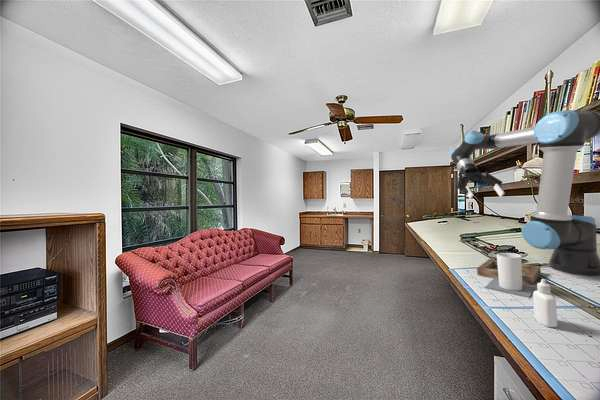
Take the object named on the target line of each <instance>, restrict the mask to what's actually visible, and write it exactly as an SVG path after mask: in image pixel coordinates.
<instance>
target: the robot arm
mask: <svg viewBox="0 0 600 400" xmlns="http://www.w3.org/2000/svg"><path fill="white" fill-rule="evenodd" d="M599 134H600V113H599V112H598V111H594V110H588V109H587V110H583V109H582V110H576V109H575V110H574V109H573V110H572V109H571V110H570V109H566V110H565V109H564V110H558V111H554V112H553V111H552V112H550V113H548V114H546V115H544V116H543V117H542V118H540V119H539V120H538V122H537V123H536V124H535V126H532V127H525V128H521V129H516V130H510V131H506V132H504V131H503V132H502V133H500V132H499V133H495V134H486V135H485V134H484V133H482V132H480V131H477V130H470V132H468V134H467V135H465V137H464V138H463V140H462V142H461V143H460V145H459V146H457V147H454V148H453V149H451V150H450V152H449V156H450V158H451V161H453V163H454V164H455V165H456V168H457V169H458V171H459V173H458V174H457V179H458V180H457V185H456V189H458V190H459V189H460V191H462V192H463V193H464V194H466V195H467V197H468V198H469V200H472V198H473V197H474V193H473V192H472V190H471V189H470V187H469V185H468V184H469V182H474V181H475V182H478V181H479V182H482V183H485V184H487V185H489V186H491V187H493V190H495V192H496V194H497V195H498V196H499V197H500V198H502V197H504V195H505V191H504V190H503V187H502V184H503V181H502V180H501V179H498V178H497V177H495V176H493V175H492V174H490V173H489V172H488V171H484V172H481V171H480V169H479V168H478V166H477V165H476V164H475V163H474V161H473V160H472V158H471V156H472V154H473V153H474V152H475V150H496V149H499V148H509V147H515V146H522V145H530V144H531V145H532V144H537V143H538V144H539V146H538V150H540V151H542V153H543V157H542V164H541V172H540V179H539V180H540V181H539V187H538V195H537V201H536V202H537V203H536V209H535V211H534V212H533V211H532V212H531V213H530V216H529V217H530V218H529V221H527V222H526V223H525V224H523V226H522V228H521V235H522V237H523V240H524V241H526V243H527V244H529V245H530V246H531V247H534V248H535V249H540V250H553V252H552V254H551V257H550V259H549V261H548V263H549V267H550V268H551V269H553V270H556V271H559V272H560V271H561V272H563V273H568V274H569V273H570V274H575V275H585V276H600V256H599V254H598V250H597V249H598V247H597V246H598V245H597V243H598V242H597V224H596V219H595V218H594V217H593V216H590V215H589V216H588V215H572V214H568V213H569V211H568V210H569V205H570V198H571V191H572V186H573V185H572V184H573V178H574V172H575V166H576V165H575V164H576V159H577V154H578V153H577V152H578V151H579V150H581V149H582V148H584V146H585V141H588V140H592V139H594V138H595V137H597V136H599ZM463 178H464V179H465V181H464V183H463V184H462V182H463Z"/></svg>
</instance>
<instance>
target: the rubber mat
mask: <svg viewBox="0 0 600 400" xmlns="http://www.w3.org/2000/svg"><path fill="white" fill-rule="evenodd" d="M484 288H485V289H488V290H494V291H497V292H501V293H505V294H511V295H515V296H520V297H524V298H528V299H530V298H531V296H532V295H533V292H534V291H536V288H537V285H528V284H522V290H520V291H513V290H507V289H504V288H501V287H500V286H499V279H497V278H492V280H491V281H490V282H488V283H487V284H486V285H485V286H484Z"/></svg>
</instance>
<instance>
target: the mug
mask: <svg viewBox="0 0 600 400" xmlns="http://www.w3.org/2000/svg"><path fill="white" fill-rule="evenodd" d="M496 260H497V265H498V268H497V270H498V277H499V286H500V287H501V288H504V289H507V290H513V291H520V290H522V274H523V272H522V264H523V263H522V262H523V261H522V255H520V254H517V253H513V252H498V253H496Z"/></svg>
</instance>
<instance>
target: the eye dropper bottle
mask: <svg viewBox="0 0 600 400" xmlns="http://www.w3.org/2000/svg"><path fill="white" fill-rule="evenodd" d="M536 288H537V290H534V291H533V293H532V299H533V300H532V301H533V316H534V317H533V318H534V319H535V320H536V321H537V323H539V324H540V325H543V326H544V327H547V328H558V315H557V314H558V311H557V301H556V298H555V297H554V295H552V293H551V286H550V284H548V283H547V282H546V279H545V278H541V280H540V282H537V283H536Z"/></svg>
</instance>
